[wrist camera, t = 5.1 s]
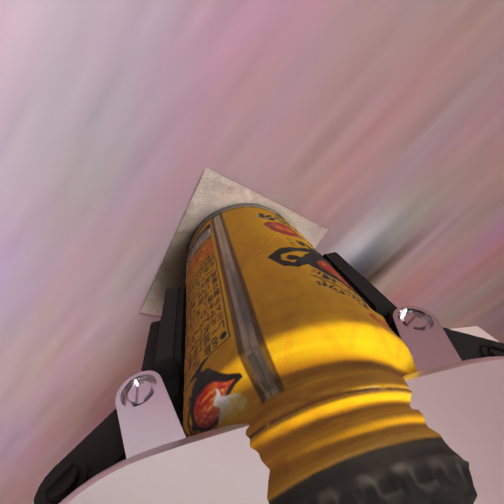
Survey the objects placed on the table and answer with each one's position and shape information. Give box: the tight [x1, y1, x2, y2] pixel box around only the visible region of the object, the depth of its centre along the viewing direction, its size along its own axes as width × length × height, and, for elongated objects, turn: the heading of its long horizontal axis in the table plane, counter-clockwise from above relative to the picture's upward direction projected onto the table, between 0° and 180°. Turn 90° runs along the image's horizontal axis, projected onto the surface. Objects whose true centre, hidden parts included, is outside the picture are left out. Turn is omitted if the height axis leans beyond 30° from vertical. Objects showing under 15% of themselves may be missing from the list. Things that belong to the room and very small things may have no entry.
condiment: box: [141, 167, 477, 504], centre depth 9 cm, size 7×8×12 cm
